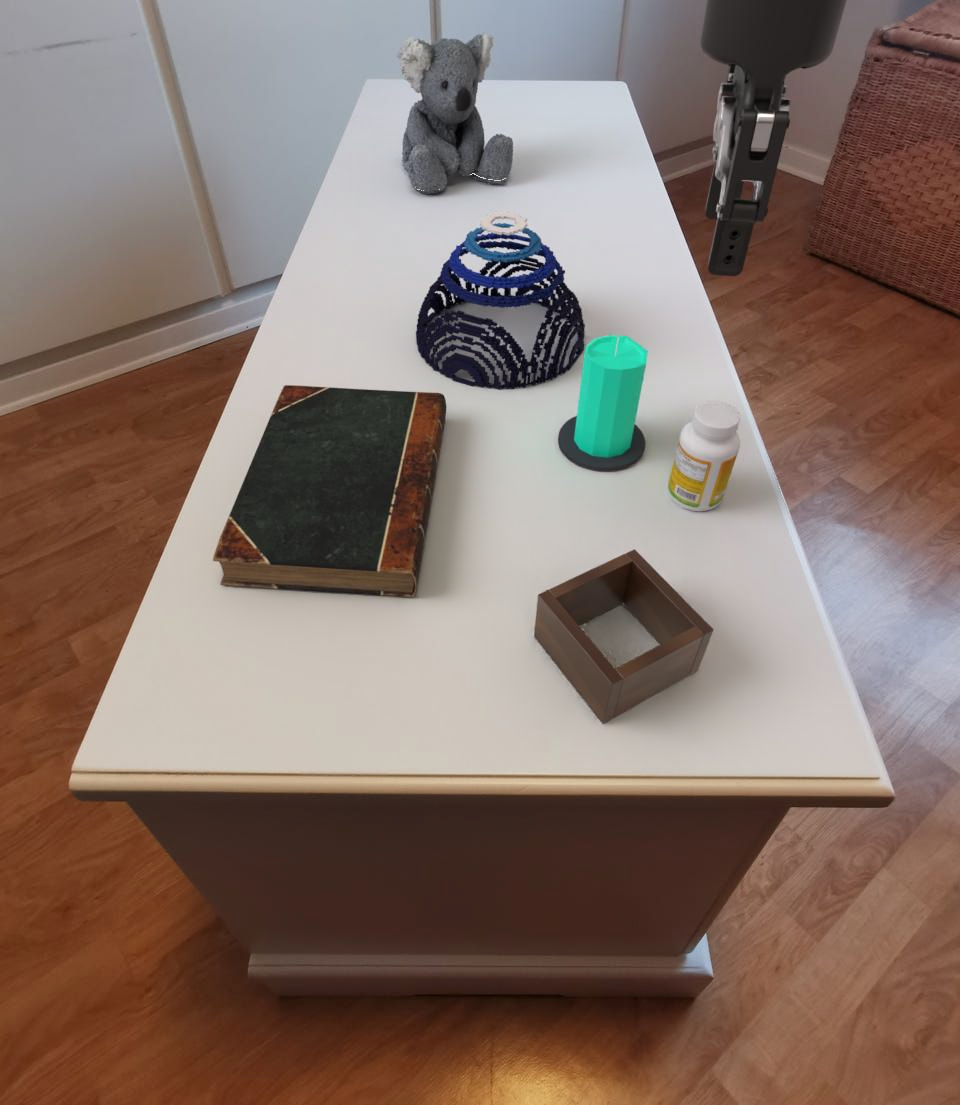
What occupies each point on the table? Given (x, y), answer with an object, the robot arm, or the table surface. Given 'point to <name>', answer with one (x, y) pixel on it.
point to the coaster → (594, 462)
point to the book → (337, 493)
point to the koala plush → (449, 114)
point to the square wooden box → (653, 608)
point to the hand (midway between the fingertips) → (721, 243)
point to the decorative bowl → (495, 299)
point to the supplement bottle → (705, 457)
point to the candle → (609, 395)
